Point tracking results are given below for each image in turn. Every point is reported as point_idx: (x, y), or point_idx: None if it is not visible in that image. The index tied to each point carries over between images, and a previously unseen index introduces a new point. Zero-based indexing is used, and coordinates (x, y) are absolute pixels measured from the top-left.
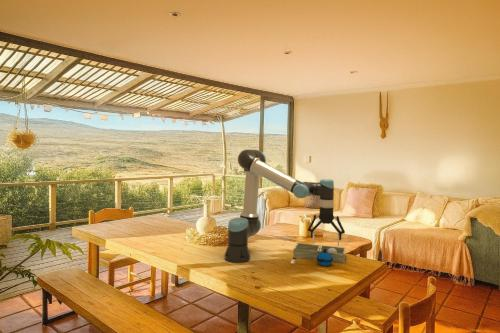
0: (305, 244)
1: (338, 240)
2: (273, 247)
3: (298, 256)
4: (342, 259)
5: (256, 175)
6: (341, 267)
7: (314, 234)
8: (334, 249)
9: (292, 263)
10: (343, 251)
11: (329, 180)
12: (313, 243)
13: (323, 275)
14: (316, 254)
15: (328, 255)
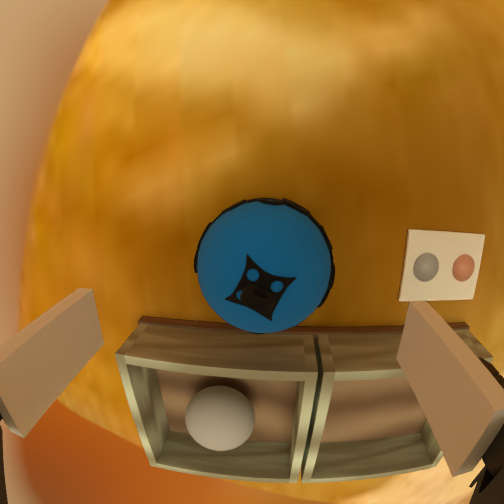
0: (392, 469)
1: (39, 321)
2: None
3: None
4: (144, 336)
5: None
6: (154, 264)
7: (441, 434)
8: (198, 429)
9: (473, 233)
10: (164, 448)
11: None
12: (418, 304)
13: (260, 57)
14: (334, 357)
15: (221, 241)
